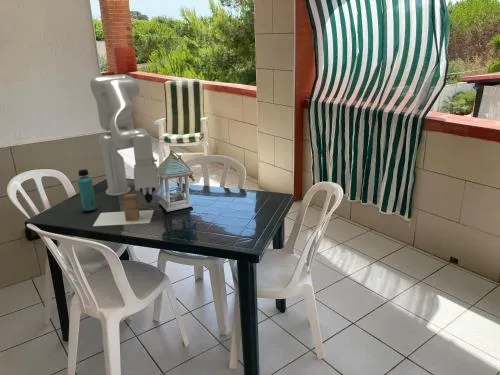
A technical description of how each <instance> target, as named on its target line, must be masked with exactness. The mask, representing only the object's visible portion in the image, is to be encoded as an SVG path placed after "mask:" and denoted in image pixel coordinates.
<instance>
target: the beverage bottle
mask: <svg viewBox="0 0 500 375" xmlns="http://www.w3.org/2000/svg"><path fill="white" fill-rule="evenodd" d="M78 176H79V178H78V179H77V185H78V186H77V187H78V192H79V197H80V203H81V208H82V210H83V211H88V212H89V211H93V210H96V209H97V200H96V197H95V189H94V183H93V178H92V177H91V176H89V170H88V169H86V168H85V169H80V170H78Z"/></svg>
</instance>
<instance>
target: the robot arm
mask: <svg viewBox="0 0 500 375" xmlns="http://www.w3.org/2000/svg"><path fill="white" fill-rule="evenodd" d="M89 82H90V83H89V84H90V85H89V86H90V90H91V93H92V95H93V97H94V100H95V101H96V105H97V113H98V114H97V115H98V120H99V125H100V128H101V129H102V130H106V131H108V132H104V133H102V134H101V135H99V137H98V143H99V146H100V150H101V152H102V156H103V162H104V163H103V164H104V168H105V175H106V176H105V177H106V182H107V188H106V190H105V194H106V195H107V196H113V197H115V196H116V197H117V196H124V195H125V194H129V193H130V192H131V190H132V189H131V187H130V186H128V181H127V175H126V166H125V161H124V160H125V159H124V156H123V155H121V153H119V151H120V150H125V149H132V148H133V155H134V163H135V164H134V166H133V182H134V184H133V185H134V190H135V191H137V192H138V191H140V192H141V193H142V194H143V195H144V199H145V200H144V201H145V202H146V204H151V203H152V201H153V198H154V197H153V193H154V192H155V191H157V190H161V186H160V174H159V170H158V169H159V168H158V166H157V162H158V158H155V157H154V153H153V152H154V151H153V143H152V135H151V134H150V133H149V132H148V131H147V130H146V129H145V128H135V126H134V117H133V114H132V113H133V112H134V109H135V107H134V105H133V102H132V100H131V98H135V97H138V96H139V95H140V86H139V83H138V81H137V80H136V79H135V78H134V77H132V76H131V75H128V74H111V75H110V74H106V75H104V74H103V75H98V76H94V77H92V78H91V79H90V81H89ZM120 129H123V130H120ZM147 189H149V190H147Z"/></svg>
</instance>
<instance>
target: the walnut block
mask: <svg viewBox="0 0 500 375" xmlns="http://www.w3.org/2000/svg"><path fill="white" fill-rule="evenodd" d="M122 204H123V209H124V211H123V212H125V218H126V222H132V221H138V219H139V217H140V216H139V211H140V209H139V208H140V207H139V201H138V194H137V193H126V194H123V197H122Z"/></svg>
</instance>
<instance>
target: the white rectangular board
mask: <svg viewBox="0 0 500 375" xmlns="http://www.w3.org/2000/svg"><path fill="white" fill-rule="evenodd" d="M154 211H155V210H154V209H151V210H150V209H148V210H147V209H146V210H145V209H144V210H139V216H140V217H139V219H138V221H132V222H126V218H125V211H112V212H110V211H109V212H101V213H100V214H99V215H98V217H97V218H96V220H95V222H94V224H93V225H92V227H103V226H104V227H105V226H120V225H121V226H122V225H123V226H125V225H139V224H141V225H142V224H150V223H151V220H152V217H153V214H154Z"/></svg>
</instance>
